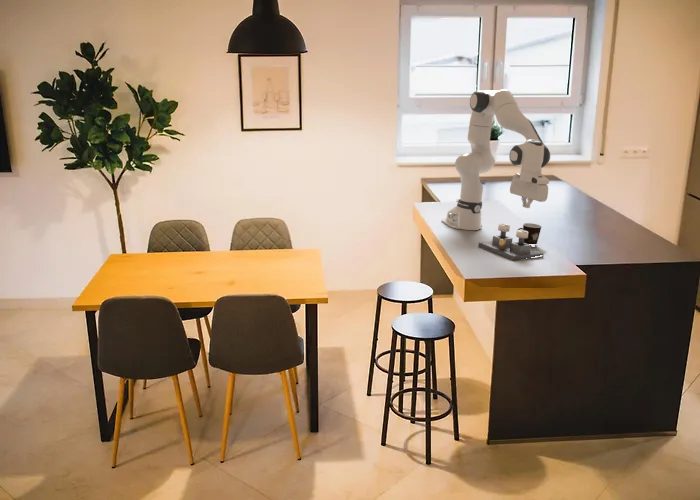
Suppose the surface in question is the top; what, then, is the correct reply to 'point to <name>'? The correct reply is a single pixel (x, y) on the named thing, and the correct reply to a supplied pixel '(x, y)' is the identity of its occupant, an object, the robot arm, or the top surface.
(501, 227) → the knob
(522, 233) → the knob
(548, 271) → the top surface
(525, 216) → the top surface
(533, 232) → the coffee mug
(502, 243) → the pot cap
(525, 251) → the mount plate
